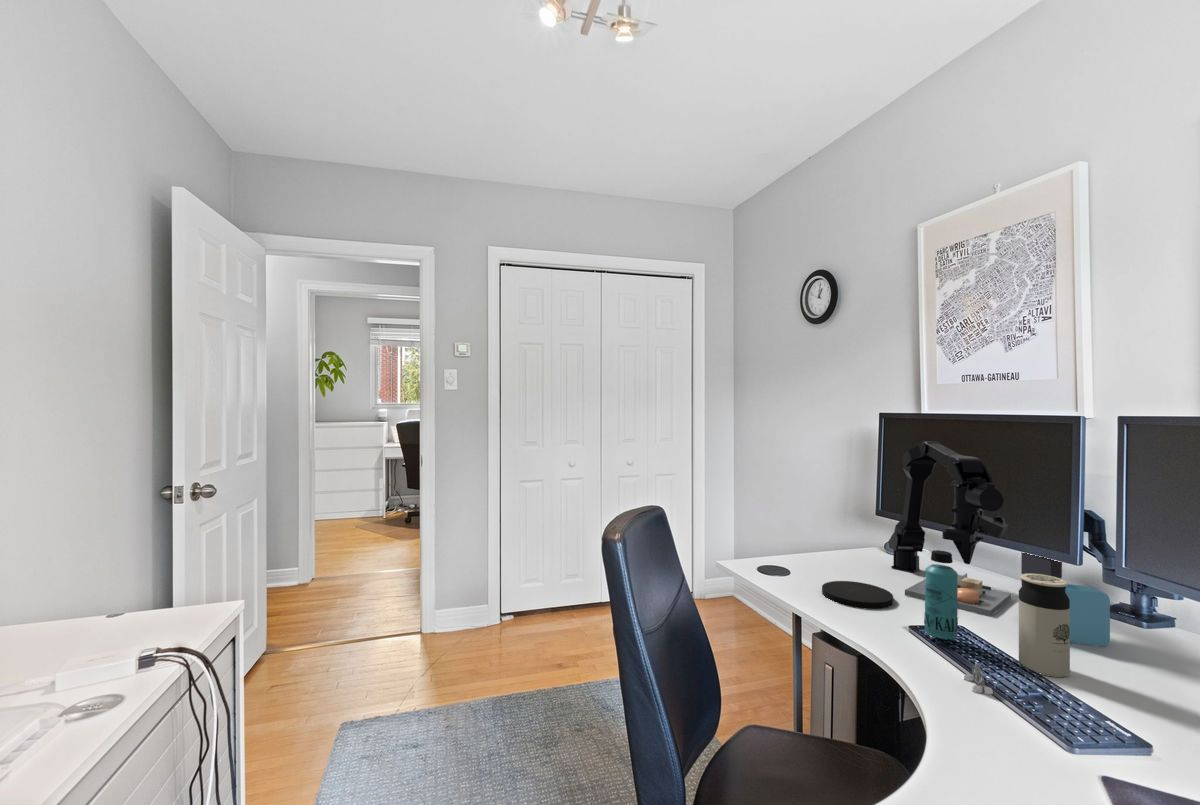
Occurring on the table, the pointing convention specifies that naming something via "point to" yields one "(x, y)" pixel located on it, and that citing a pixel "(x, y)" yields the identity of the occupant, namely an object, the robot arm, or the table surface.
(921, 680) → the table surface
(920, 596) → the grey railed board
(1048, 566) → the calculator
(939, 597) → the beverage bottle
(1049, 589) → the travel mug
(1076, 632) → the data package
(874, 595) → the wireless charger
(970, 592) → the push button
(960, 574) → the white cube
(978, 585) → the beech slider
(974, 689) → the grey lobed figure
